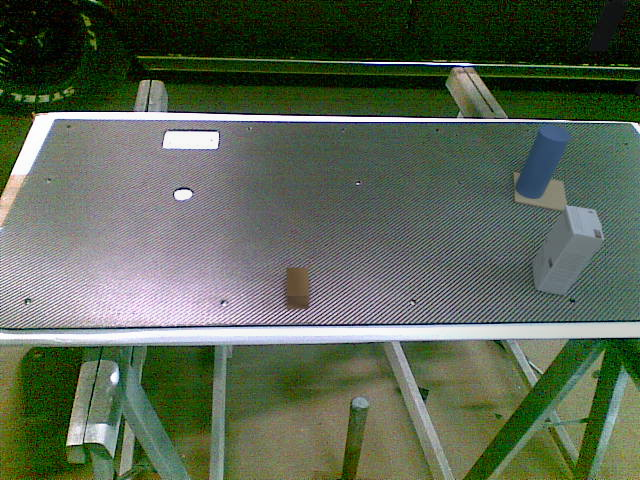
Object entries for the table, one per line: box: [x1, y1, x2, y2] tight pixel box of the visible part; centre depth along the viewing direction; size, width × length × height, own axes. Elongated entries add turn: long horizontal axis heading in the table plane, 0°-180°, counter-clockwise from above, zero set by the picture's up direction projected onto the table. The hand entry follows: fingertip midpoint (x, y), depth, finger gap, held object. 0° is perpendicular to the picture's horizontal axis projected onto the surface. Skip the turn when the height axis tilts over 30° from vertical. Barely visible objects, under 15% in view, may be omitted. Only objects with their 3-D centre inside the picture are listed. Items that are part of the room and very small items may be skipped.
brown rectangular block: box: [286, 267, 310, 310], centre depth 66 cm, size 3×5×3 cm, turn 3°
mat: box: [512, 171, 568, 213], centre depth 86 cm, size 9×9×1 cm
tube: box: [515, 124, 572, 199], centre depth 82 cm, size 12×5×5 cm
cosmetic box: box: [531, 205, 605, 296], centre depth 67 cm, size 6×4×12 cm
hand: (618, 70), depth 67 cm, fingers open, 13 cm apart
